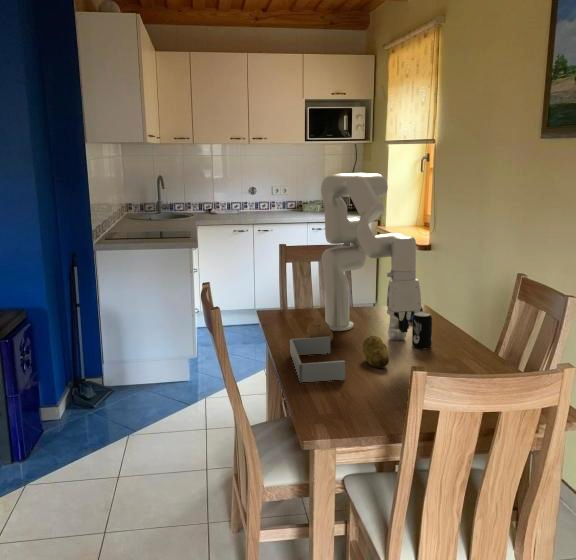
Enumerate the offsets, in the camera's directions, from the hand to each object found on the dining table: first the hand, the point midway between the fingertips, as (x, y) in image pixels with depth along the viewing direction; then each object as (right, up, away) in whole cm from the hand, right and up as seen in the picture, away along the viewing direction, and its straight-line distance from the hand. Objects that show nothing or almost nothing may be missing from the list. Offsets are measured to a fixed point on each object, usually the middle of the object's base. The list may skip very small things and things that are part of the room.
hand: (403, 331), depth 180 cm
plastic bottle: (+3, -5, +24) cm, 24 cm away
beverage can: (+10, -7, +16) cm, 20 cm away
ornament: (+13, 0, +47) cm, 48 cm away
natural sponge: (-26, -7, +20) cm, 33 cm away
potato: (-9, -11, +2) cm, 14 cm away
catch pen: (-28, -12, 0) cm, 31 cm away
